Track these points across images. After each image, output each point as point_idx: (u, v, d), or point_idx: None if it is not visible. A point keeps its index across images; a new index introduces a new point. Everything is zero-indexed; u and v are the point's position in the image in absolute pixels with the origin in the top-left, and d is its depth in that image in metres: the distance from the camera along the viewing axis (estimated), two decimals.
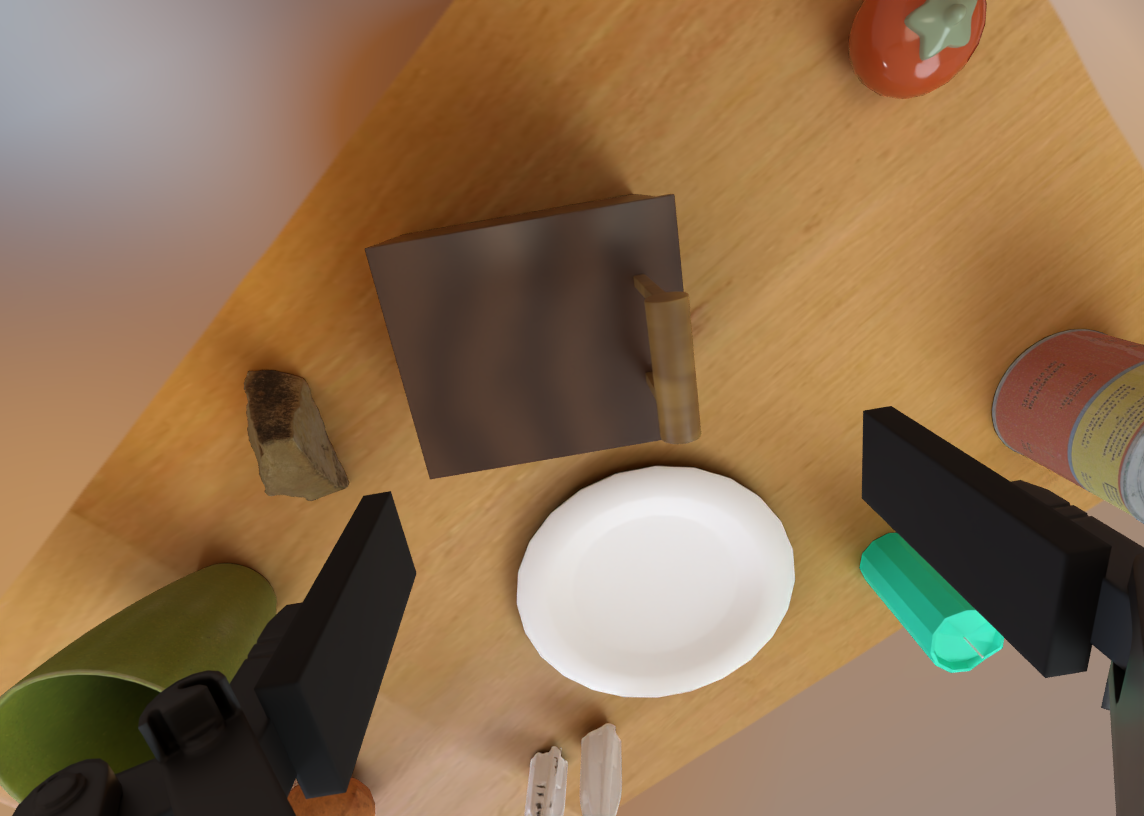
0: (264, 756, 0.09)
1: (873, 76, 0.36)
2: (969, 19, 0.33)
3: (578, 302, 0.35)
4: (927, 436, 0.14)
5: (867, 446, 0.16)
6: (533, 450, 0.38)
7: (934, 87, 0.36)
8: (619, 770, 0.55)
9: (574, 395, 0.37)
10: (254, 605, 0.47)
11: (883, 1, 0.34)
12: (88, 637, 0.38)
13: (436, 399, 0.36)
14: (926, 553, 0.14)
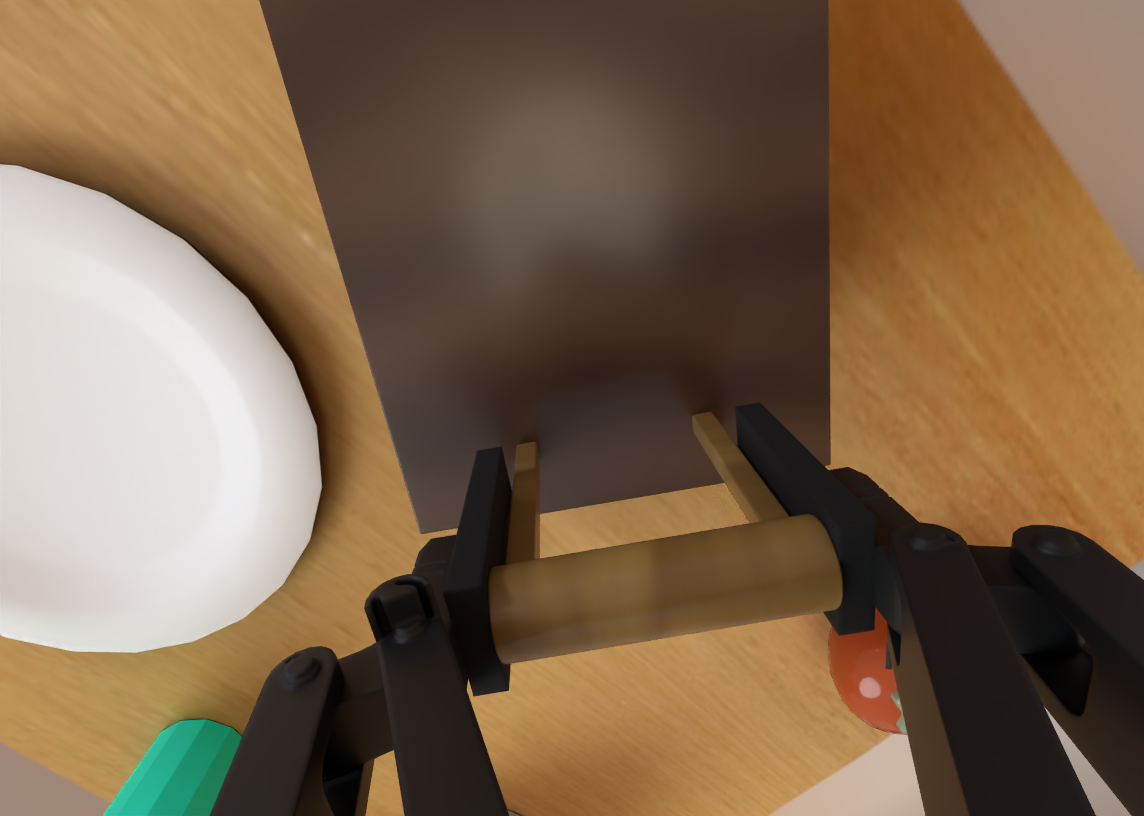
0: (454, 658, 0.10)
1: (869, 640, 0.31)
2: None
3: (672, 318, 0.19)
4: (777, 428, 0.16)
5: (739, 438, 0.17)
6: (355, 225, 0.17)
7: (850, 702, 0.32)
8: None
9: (487, 312, 0.18)
10: None
11: None
12: None
13: None
14: None
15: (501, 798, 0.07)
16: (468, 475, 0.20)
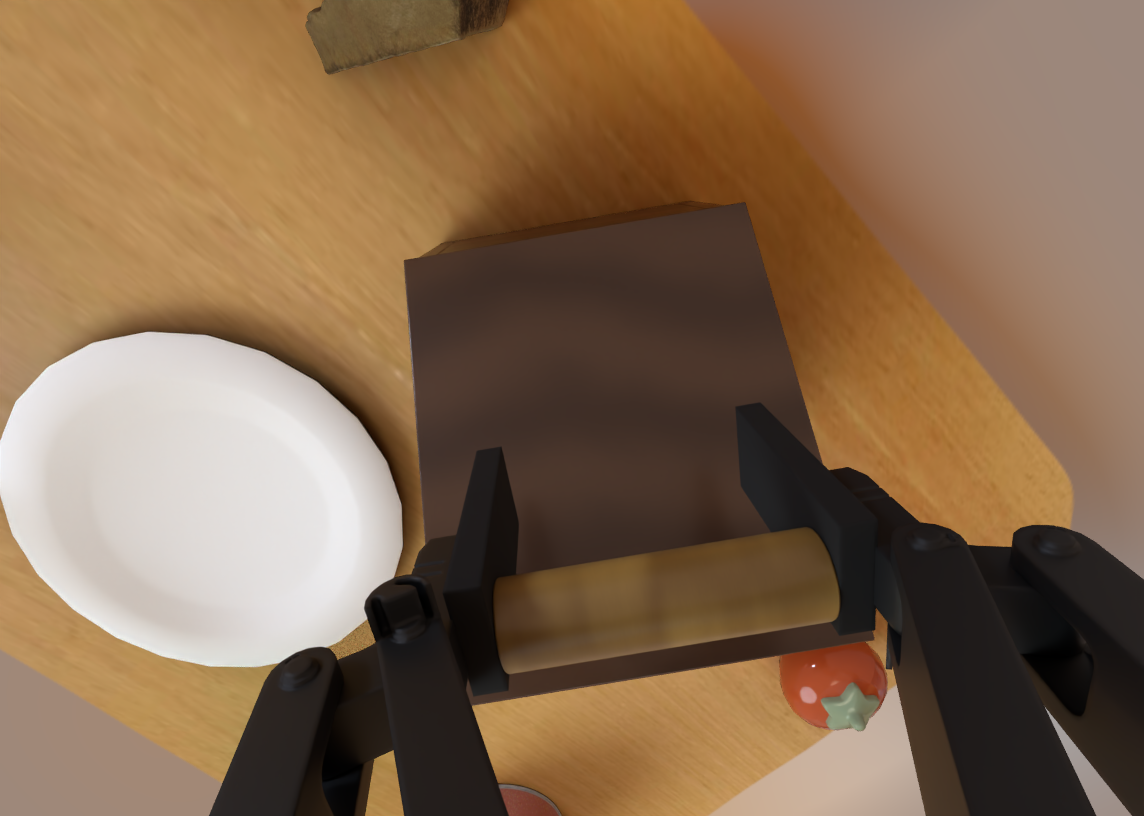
0: (454, 658, 0.10)
1: (806, 660, 0.41)
2: (848, 727, 0.41)
3: (685, 482, 0.22)
4: (777, 428, 0.16)
5: (739, 438, 0.17)
6: (435, 411, 0.23)
7: (793, 705, 0.42)
8: None
9: (527, 476, 0.22)
10: None
11: (864, 661, 0.41)
12: None
13: (531, 274, 0.25)
14: None
15: (501, 798, 0.07)
16: None
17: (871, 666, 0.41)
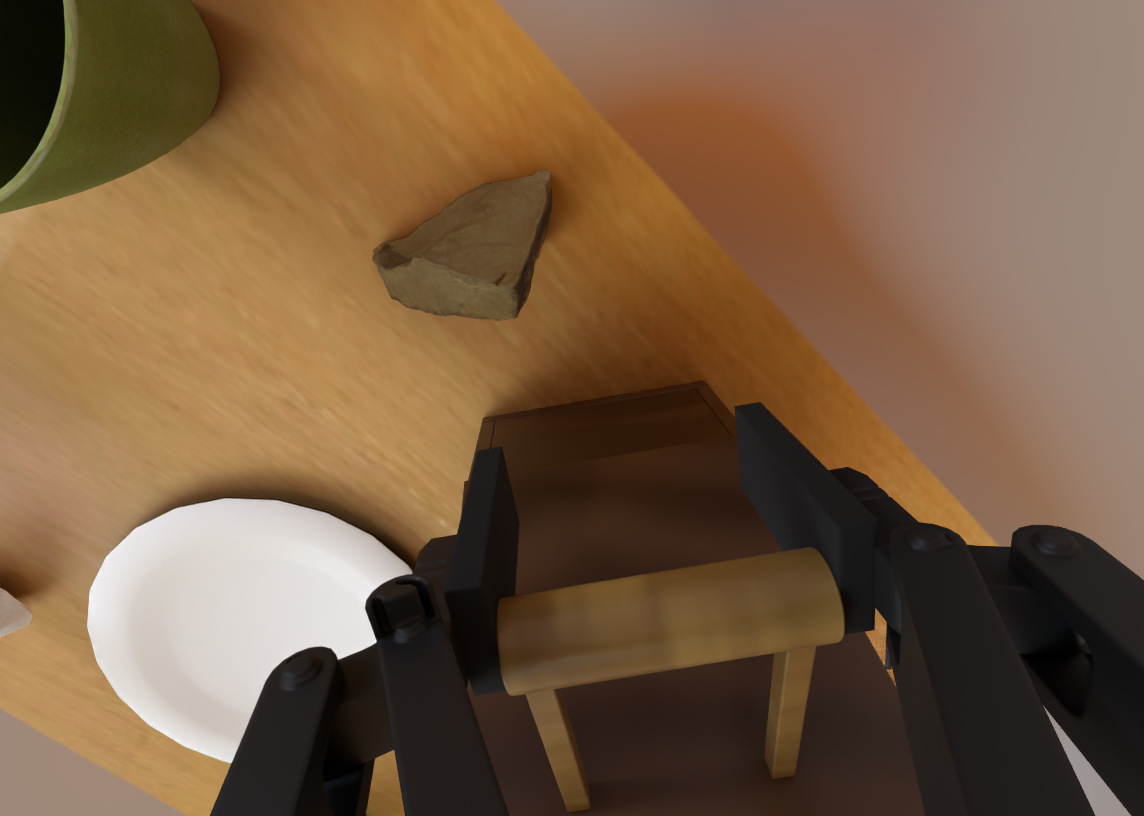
0: (455, 658, 0.10)
1: None
2: None
3: None
4: (777, 428, 0.16)
5: (739, 438, 0.17)
6: None
7: None
8: None
9: None
10: (170, 150, 0.28)
11: None
12: None
13: (570, 486, 0.28)
14: (775, 533, 0.15)
15: (501, 798, 0.07)
16: None
17: None
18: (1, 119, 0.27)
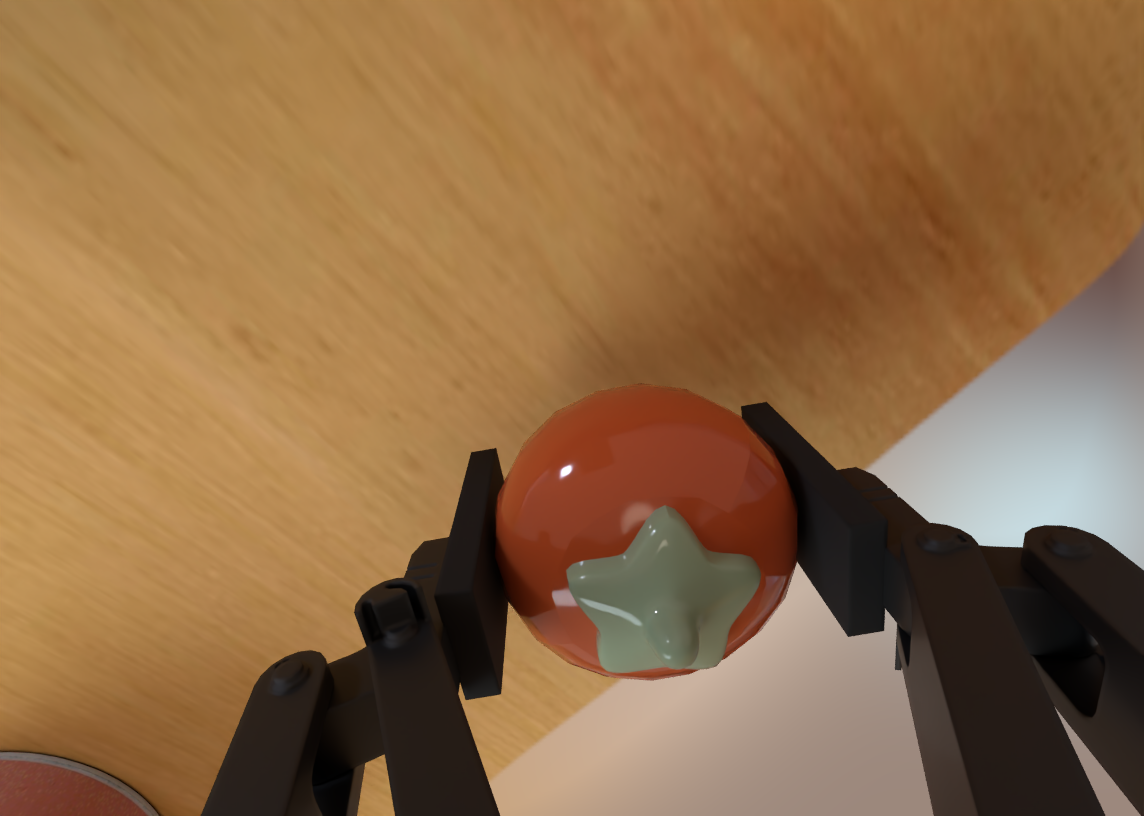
0: (445, 661, 0.10)
1: (536, 453, 0.13)
2: (659, 665, 0.12)
3: None
4: (784, 428, 0.15)
5: None
6: None
7: (512, 605, 0.14)
8: None
9: None
10: None
11: (713, 443, 0.12)
12: None
13: None
14: None
15: (493, 801, 0.07)
16: None
17: (735, 461, 0.12)
18: None
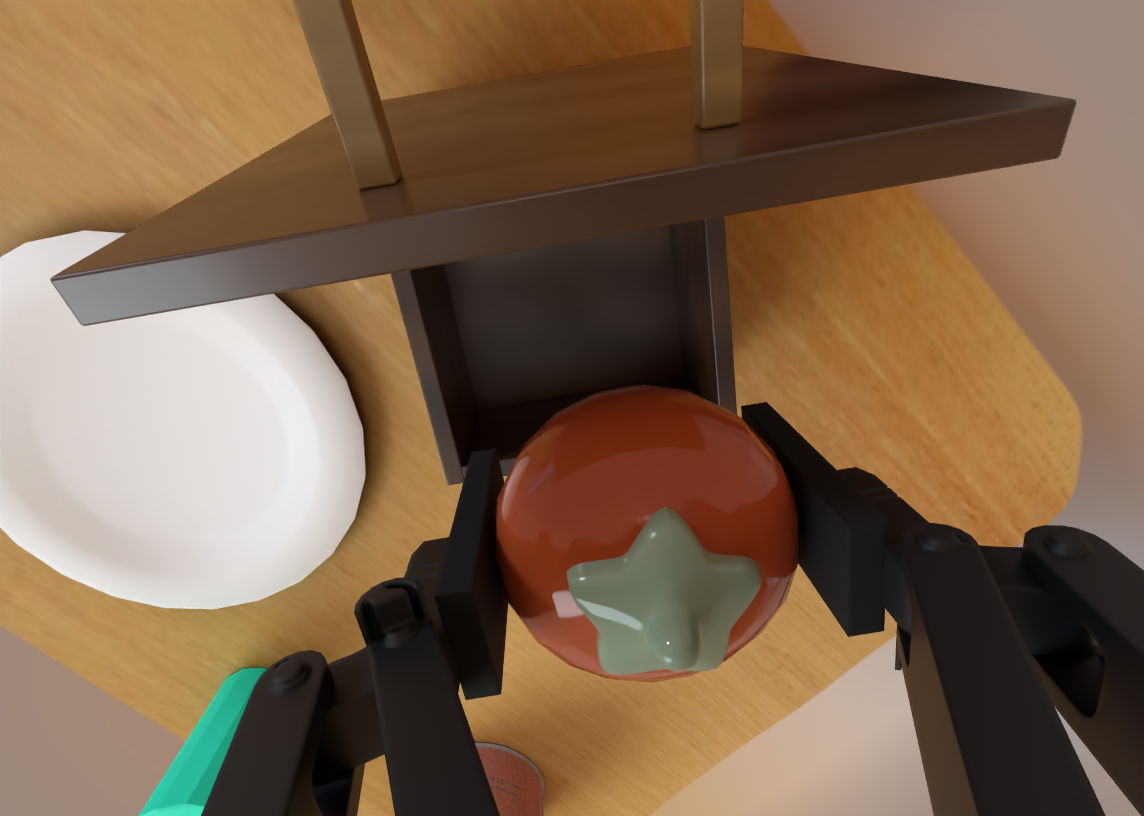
0: (445, 661, 0.10)
1: (536, 454, 0.13)
2: (660, 667, 0.12)
3: (641, 102, 0.13)
4: (784, 428, 0.15)
5: None
6: (311, 136, 0.17)
7: (512, 606, 0.14)
8: None
9: (404, 136, 0.14)
10: None
11: (714, 444, 0.12)
12: None
13: (473, 88, 0.21)
14: None
15: (493, 801, 0.07)
16: (249, 211, 0.10)
17: (736, 463, 0.12)
18: None
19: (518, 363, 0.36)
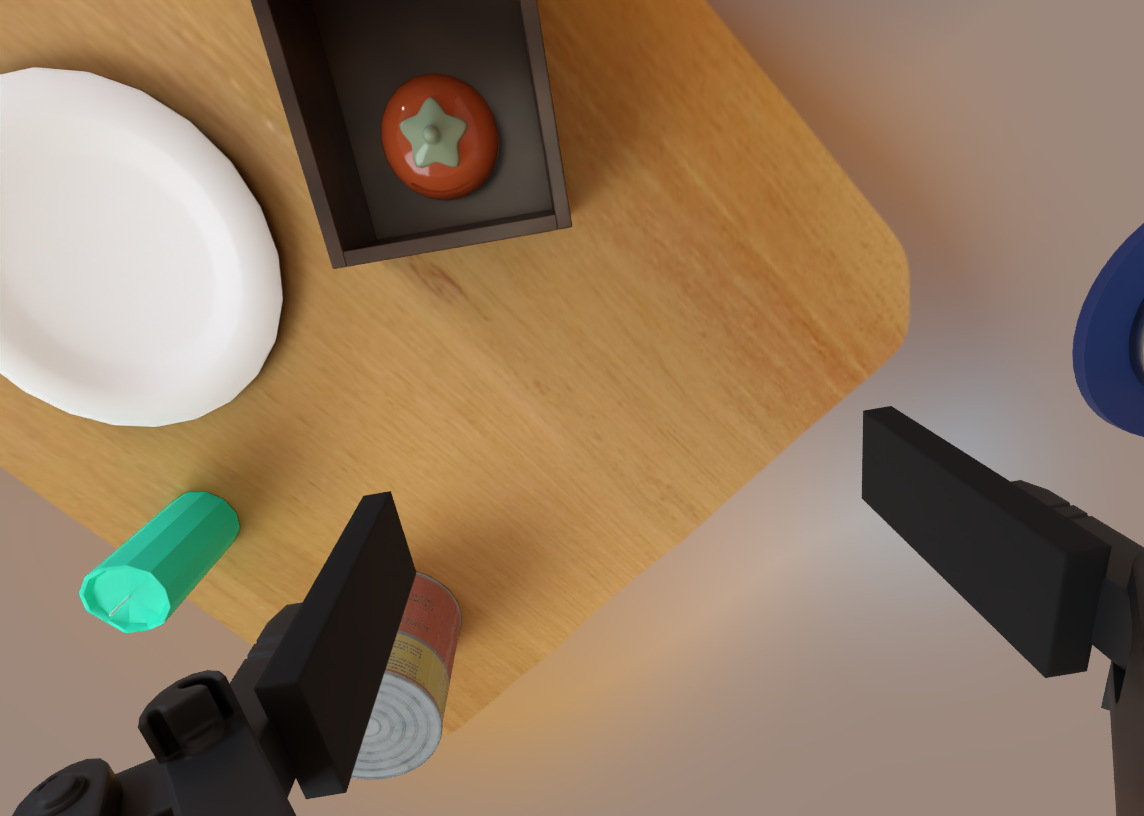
0: (264, 756, 0.09)
1: (393, 93, 0.36)
2: (433, 158, 0.35)
3: None
4: (927, 436, 0.14)
5: (867, 446, 0.16)
6: None
7: (387, 158, 0.37)
8: None
9: None
10: None
11: (451, 81, 0.35)
12: None
13: None
14: (926, 553, 0.14)
15: None
16: None
17: (459, 87, 0.35)
18: None
19: (409, 196, 0.42)
